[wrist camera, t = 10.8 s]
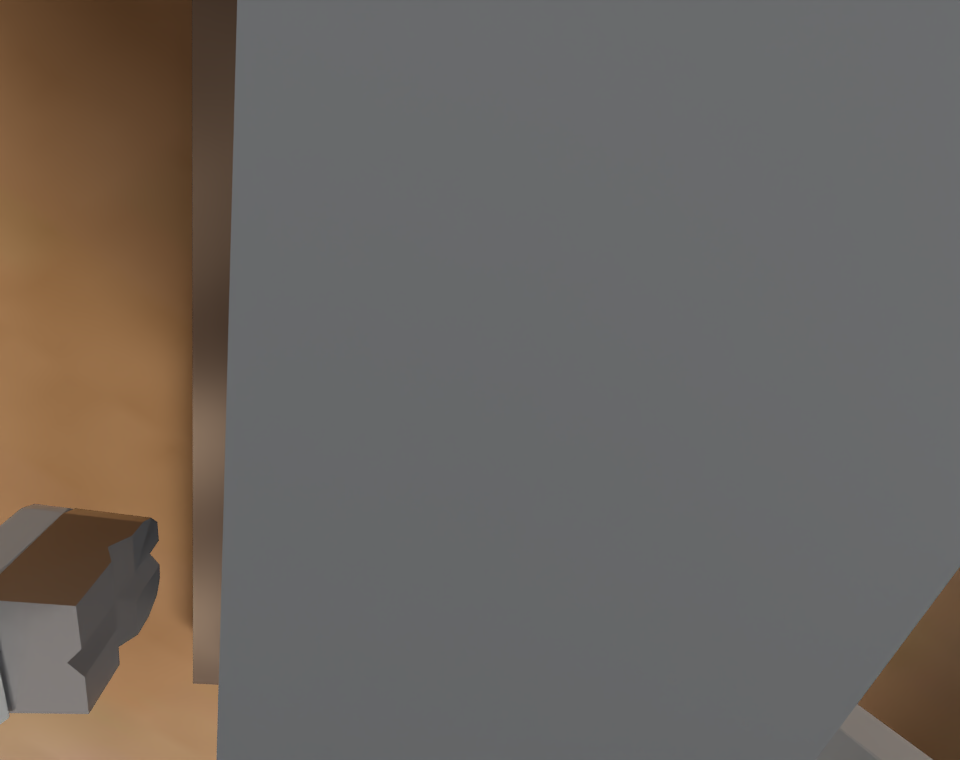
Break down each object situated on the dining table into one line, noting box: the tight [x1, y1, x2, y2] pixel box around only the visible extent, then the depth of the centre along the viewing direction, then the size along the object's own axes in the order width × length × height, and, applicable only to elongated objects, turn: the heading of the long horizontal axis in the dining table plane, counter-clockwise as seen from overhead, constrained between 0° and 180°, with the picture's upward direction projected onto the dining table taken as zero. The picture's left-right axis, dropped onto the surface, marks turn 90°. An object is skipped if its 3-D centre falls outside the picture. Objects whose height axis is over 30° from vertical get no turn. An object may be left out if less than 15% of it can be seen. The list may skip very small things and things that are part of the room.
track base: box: [192, 0, 237, 685], centre depth 14 cm, size 26×12×4 cm, turn 168°
